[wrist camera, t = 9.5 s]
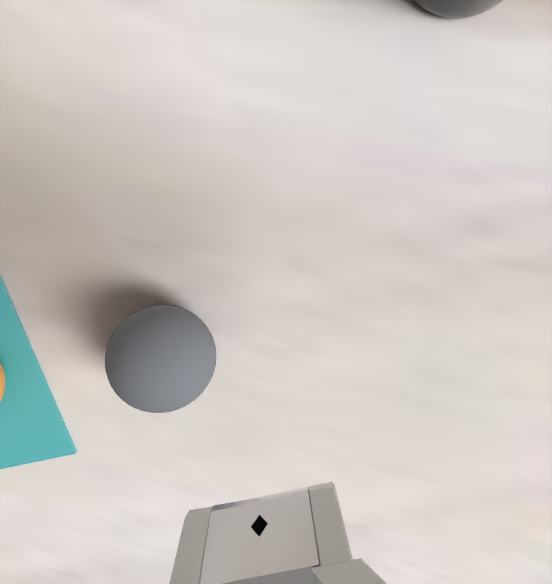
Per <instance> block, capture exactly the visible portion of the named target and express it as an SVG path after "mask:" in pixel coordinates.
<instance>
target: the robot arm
mask: <svg viewBox="0 0 552 584" xmlns="http://www.w3.org/2000/svg"><path fill="white" fill-rule="evenodd" d="M170 584H387V583H386V582H385V581H384V580H383V579H382V578H381V577H380V576H379V575H377V574H376V573H375V572H374V571H373V570H372V569H371V568H370V567H369V566H368V565H367V564H366V563H365V562H364V561H363V560H362V559H361V558H360V559H352V555H351V551H350V547H349V542H348V538H347V534H346V530H345V526H344V522H343V518H342V514H341V510H340V506H339V502H338V497H337V493H336V489H335V485H334V484H333V482H329V483H324V484H320V485H315V486H310V487H309V488H308V487H306V488H301V489H297V490H292V491H287V492H283V493H278V494H273V495H268V496H264V497H261V498H255V499H249V500H244V501H238V502H232V503H226V504H220V505H215V506H213V507H207V508H201V509H195V510H189V512H188V514H187V515H186V517H185V520H184V524H183V528H182V533H181V537H180V541H179V545H178V550H177V554H176V558H175V563H174V567H173V571H172V575H171V580H170Z"/></svg>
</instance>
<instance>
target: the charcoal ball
mask: <svg viewBox="0 0 552 584" xmlns="http://www.w3.org/2000/svg"><path fill="white" fill-rule="evenodd" d="M215 365H216V348H215V343H214V340H213V337H212V335H211V333H210V331H209V329H208V328H207V326H206V325H205V324H204V323H203V321H202V320H201V319H199V318H198V317H197V316H196V315H195V314H193V313H191V312H190V311H188V310H185V309H183V308H180V307H176V306H170V305H156V306H151V307H147V308H144V309H141V310H139V311H137V312H135V313H133V314H132V315H130V316H129V317H127V318H126V319H125V320H124V321H123V322H122V323H121V324H120V325H119V326H118V327H117V329H116V330H115V331H114V333H113V334H112V336H111V338H110V340H109V343H108V346H107V350H106V356H105V368H106V373H107V377H108V380H109V382H110V385H111V387H112V388H113V390H114V391H115V392H116V394H117V395H118V396H119V397H120V398H121V399H122V400H123V401H125V402H126V403H127V404H129V405H130V406H132V407H134V408H136V409H139V410H142V411H146V412H152V413H164V412H170V411H174V410H177V409H180V408H182V407H184V406H186V405H188V404H189V403H191V402H192V401H194V400H195V399H196V398H197V397H198V396H199V395H200V394H201V393H202V392H203V391H204V390H205V388H206V387H207V385H208V384H209V382H210V380H211V378H212V376H213V373H214V369H215Z"/></svg>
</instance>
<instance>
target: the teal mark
mask: <svg viewBox="0 0 552 584" xmlns="http://www.w3.org/2000/svg"><path fill="white" fill-rule="evenodd" d="M0 363H1V365H2V368H3V370H4V374H5V390H4V394H3V397H2V400H1V402H0V469H3V468H8V467H13V466H17V465H22V464H27V463H32V462H37V461H42V460H47V459H52V458H56V457H61V456H66V455H71V454H75V453H76V452H77V451H76V449H75V447H74V444H73V442H72V440H71V437H70V435H69V433H68V430H67V428H66V426H65V424H64V421H63V419H62V417H61V414H60V412H59V410H58V408H57V405H56V403H55V401H54V398H53V396H52V394H51V391H50V389H49V387H48V385H47V382H46V380H45V378H44V375H43V373H42V371H41V369H40V366H39V364H38V362H37V359H36V357H35V355H34V352H33V350H32V348H31V346H30V343H29V341H28V339H27V336H26V334H25V332H24V330H23V327H22V325H21V323H20V320H19V318H18V316H17V313H16V311H15V309H14V307H13V304H12V302H11V300H10V297H9V295H8V293H7V291H6V288H5V286H4V284H3V281H2V279H1V277H0Z"/></svg>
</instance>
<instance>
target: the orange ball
mask: <svg viewBox="0 0 552 584" xmlns="http://www.w3.org/2000/svg"><path fill="white" fill-rule="evenodd" d="M4 390H5V374H4V370H3V368H2V365H1V363H0V402H1V400H2V397H3V394H4Z"/></svg>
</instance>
